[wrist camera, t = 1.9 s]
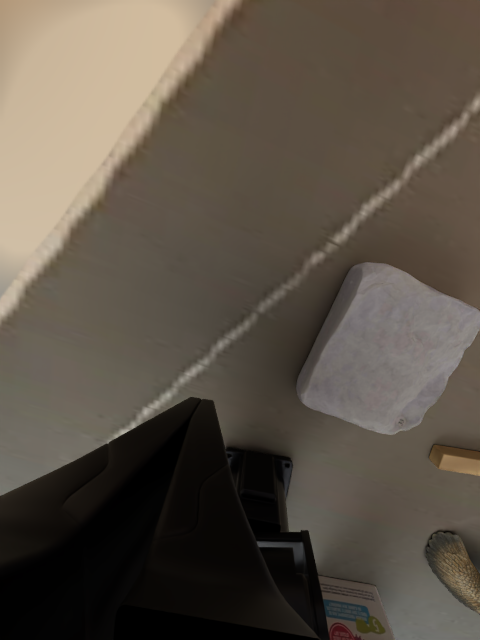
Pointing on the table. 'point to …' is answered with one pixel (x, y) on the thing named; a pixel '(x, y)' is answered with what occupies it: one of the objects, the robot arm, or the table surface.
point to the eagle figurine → (455, 568)
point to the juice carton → (354, 611)
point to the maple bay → (456, 459)
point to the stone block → (385, 349)
